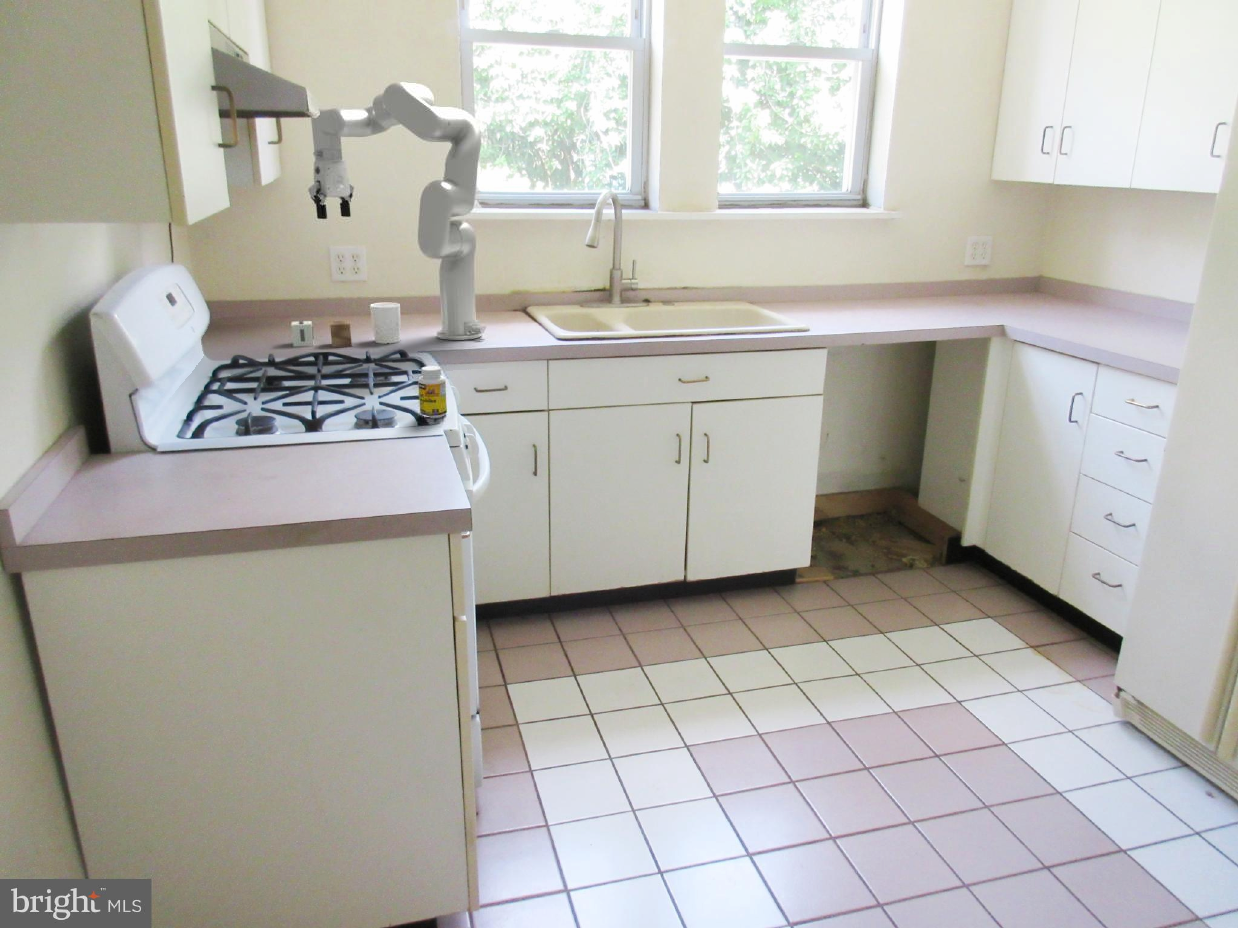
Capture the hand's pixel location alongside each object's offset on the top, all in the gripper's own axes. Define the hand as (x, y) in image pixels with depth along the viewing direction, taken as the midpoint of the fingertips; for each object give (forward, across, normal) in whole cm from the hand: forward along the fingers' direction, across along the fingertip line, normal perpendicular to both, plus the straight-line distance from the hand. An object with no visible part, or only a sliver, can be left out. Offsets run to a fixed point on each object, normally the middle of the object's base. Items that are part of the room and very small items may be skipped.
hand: (334, 217), depth 262 cm
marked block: (+31, -30, -13) cm, 45 cm away
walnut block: (+31, -25, -22) cm, 46 cm away
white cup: (+31, -16, -30) cm, 46 cm away
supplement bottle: (+31, -68, -85) cm, 113 cm away
